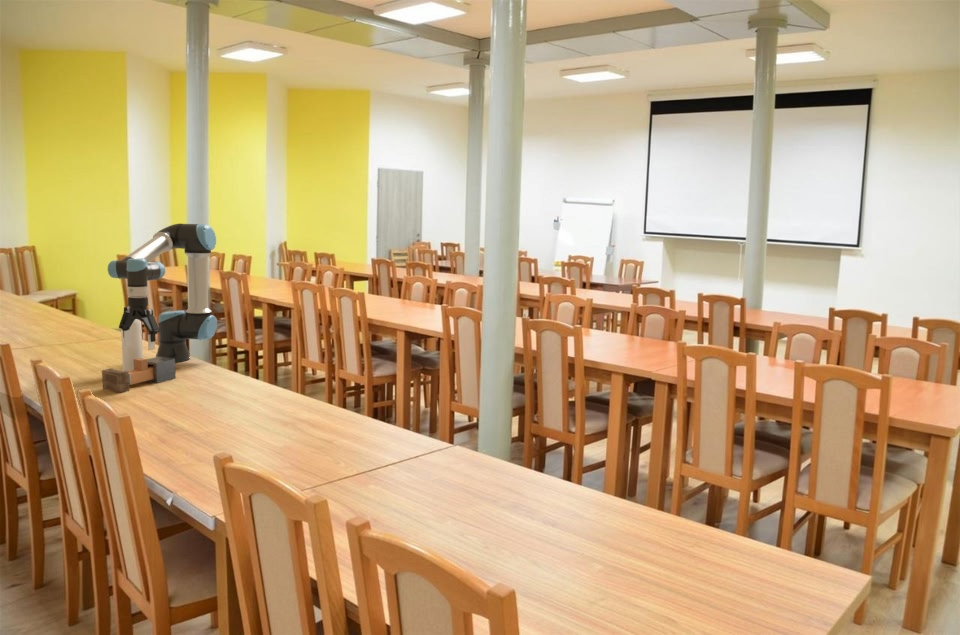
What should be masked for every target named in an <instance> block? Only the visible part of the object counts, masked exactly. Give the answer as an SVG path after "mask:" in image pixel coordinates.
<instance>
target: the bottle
mask: <svg viewBox="0 0 960 635" xmlns="http://www.w3.org/2000/svg"><path fill="white" fill-rule="evenodd" d="M142 330H143V328H142V321H141V320H138V319H135V320H134V322H133V323H132V325H131V327H130V332H131V346H126V347H125V346H124V338H123V330H122V329H121V330H120V334H121V350H122V351H121V355H122V357H121V358H122V370H123V371H131V370H134V359H137V358H143V357H144V355H143V354H144V353H143V331H142Z"/></svg>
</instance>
